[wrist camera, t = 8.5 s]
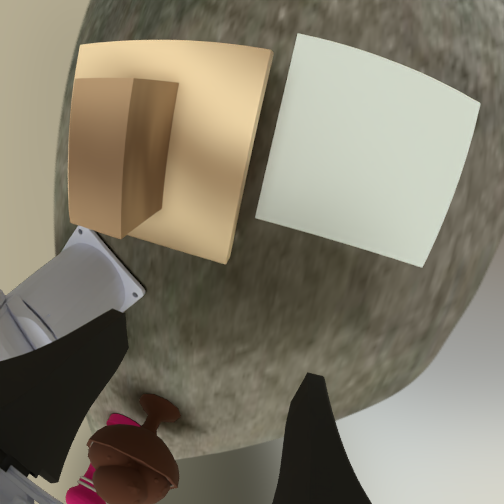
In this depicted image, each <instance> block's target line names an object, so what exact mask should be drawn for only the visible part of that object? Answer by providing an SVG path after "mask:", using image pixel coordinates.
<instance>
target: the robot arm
mask: <svg viewBox="0 0 504 504" xmlns="http://www.w3.org/2000/svg"><path fill="white" fill-rule="evenodd" d="M81 230H82V231H81ZM136 293H137V294H136ZM144 294H145V289H144V288H143V287H142V286H141V284H140V283H139V282H138V281H137V280H136V279H135V278H134V277H133V276H132V275H131V273H130V272H129V271H128V270H127V269H126V268H125V267H124V266H123V264H122V263H121V262H120V261H119V260H118V259H117V258H116V256H115V255H114V254H113V253H112V252H111V251H110V249H109V248H108V247H107V246H106V245H105V244H104V242H103V241H102V240H101V239H100V238H99V236H98V235H97V234H96V233H95V231H94V230H91V229H88V228H85V227H82V226H79V225H78V227H77V228H76V230H75V231H74V233H73V234H72V236H71V237H70V239H69V240H68V242H67V243H66V245H65V246H64V248H63V250H62V251H61V253H60V254H59V255H57V256H56V257H54V258H53V259H52V260H50V261H49V262H48V263H46V264H45V265H44V266H43V267H41V268H40V269H39V270H37V271H36V272H35V273H34V274H32V275H31V276H30V277H28V278H27V279H26V280H25V281H23V282H22V283H21V284H19V285H18V286H17V287H16V288H15V289H13V290H12V291H11V292H10V293H9V294H7V295H4V293H3V292H2V290H1V289H0V504H34V500H35V501H37V502H38V503H39V504H63V503H62V502H60V501H59V500H57V499H56V498H54V497H53V496H51V495H50V494H48V493H47V492H46V491H44V490H42V489H41V488H40V487H39V486H37V485H36V484H35V483H33V482H32V481H31V480H29V479H28V478H27V476H28V475H29V474H31V475H32V476H33V477H35V478H37V476H38V475H40V476H41V477H43V478H44V479H45V480H47V481H48V482H50V483H56V482H58V481H59V477H60V474H61V471H62V468H63V465H64V462H65V460H66V457H67V454H68V452H69V449H70V447H71V444H72V442H73V440H74V438H75V436H76V433H77V431H78V429H79V427H80V425H81V423H82V421H83V420H84V417H85V416H86V414H87V412H88V410H89V409H90V407H91V406H92V404H93V403H94V401H95V400H96V399H97V397H98V396H99V394H100V393H101V391H102V390H103V389H104V387H105V386H106V384H107V383H108V382H109V380H110V379H111V377H112V376H113V374H114V373H115V372H116V370H117V369H118V367H119V365H120V363H121V362H122V360H123V358H124V356H125V354H126V352H127V350H128V348H129V347H128V338H127V329H126V318H125V313H123V312H124V311H125V310H127V309H128V308H129V307H130V306H131V305H133V304H134V303H135V302H136V301H138V300H139V299H140V298H141V297H143V296H144ZM272 504H372V503H371V502H370V500H369V498H368V497H367V495H366V493H365V491H364V490H363V488H362V486H361V485H360V482H359V481H358V479H357V477H356V475H355V473H354V470H353V468H352V466H351V464H350V462H349V459H348V457H347V454H346V452H345V449H344V447H343V444H342V441H341V438H340V435H339V432H338V429H337V426H336V422H335V419H334V416H333V412H332V408H331V405H330V401H329V397H328V392H327V388H326V383H325V379H324V377H323V376H320V375H315V374H311V373H307V374H306V376H305V378H304V380H303V382H302V383H301V385H300V387H299V389H298V391H297V392H296V394H295V396H294V398H293V399H292V401H291V404H290V408H289V412H288V417H287V421H286V426H285V434H284V442H283V451H282V459H281V467H280V474H279V479H278V484H277V488H276V492H275V496H274V499H273V503H272Z"/></svg>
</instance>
